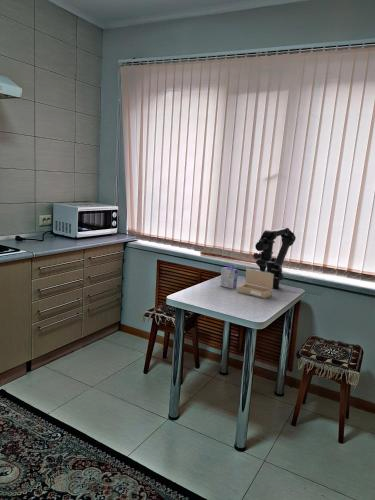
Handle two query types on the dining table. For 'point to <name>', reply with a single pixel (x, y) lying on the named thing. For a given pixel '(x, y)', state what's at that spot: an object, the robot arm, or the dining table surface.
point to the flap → (259, 278)
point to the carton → (255, 291)
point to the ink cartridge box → (229, 277)
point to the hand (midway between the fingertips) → (264, 274)
